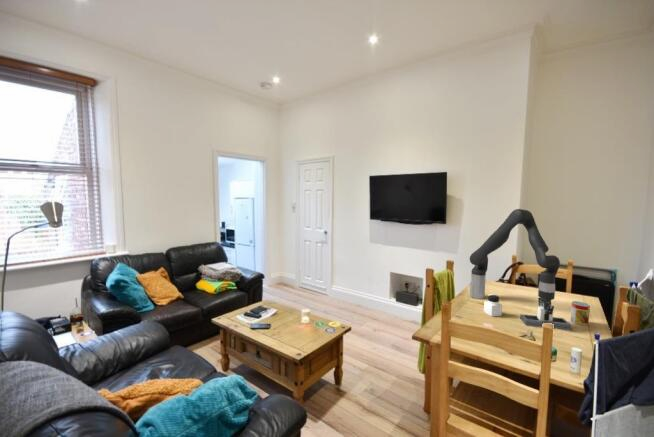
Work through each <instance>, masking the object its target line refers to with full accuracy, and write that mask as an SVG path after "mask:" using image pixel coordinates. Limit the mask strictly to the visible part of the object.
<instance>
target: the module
mask: <svg viewBox="0 0 654 437" xmlns="http://www.w3.org/2000/svg"><path fill="white" fill-rule="evenodd" d="M546 311H547V310H546ZM544 314H545V313H544V309H543V306H542V307H541V306H539V305H538V306H537V314H536V316H537V318H538V319H539V320H540V321H550V322H552V320H553V317H554V316H553V315H554V311H553V312H552V315H551V314H549V320H544Z"/></svg>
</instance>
